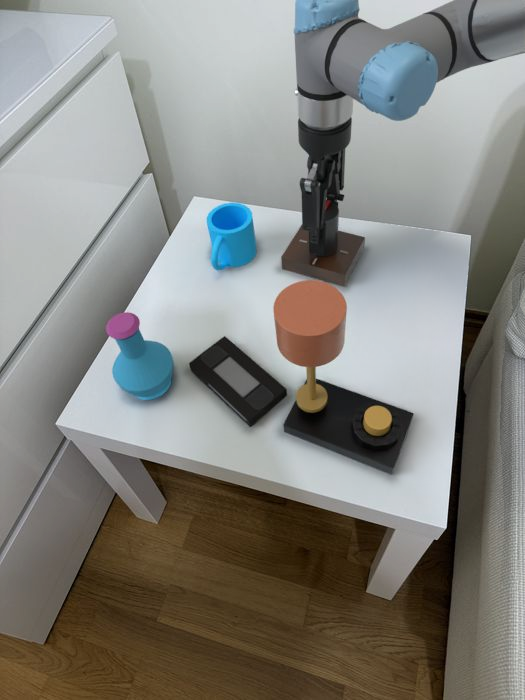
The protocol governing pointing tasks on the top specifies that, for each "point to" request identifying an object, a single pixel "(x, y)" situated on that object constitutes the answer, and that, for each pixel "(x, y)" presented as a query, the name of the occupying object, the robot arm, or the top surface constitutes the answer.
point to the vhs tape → (238, 380)
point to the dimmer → (331, 228)
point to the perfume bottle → (139, 359)
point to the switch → (377, 420)
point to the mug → (231, 235)
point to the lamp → (310, 333)
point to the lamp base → (350, 428)
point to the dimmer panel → (324, 258)
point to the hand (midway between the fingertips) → (323, 241)
